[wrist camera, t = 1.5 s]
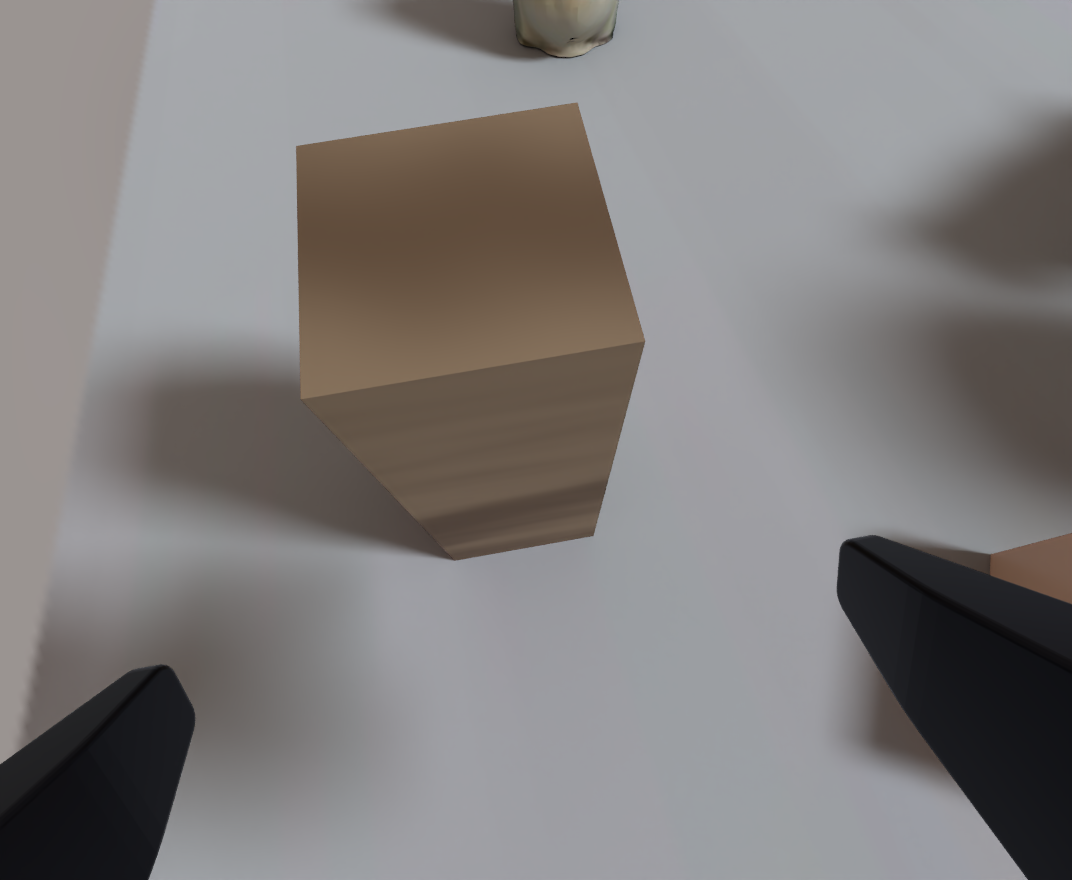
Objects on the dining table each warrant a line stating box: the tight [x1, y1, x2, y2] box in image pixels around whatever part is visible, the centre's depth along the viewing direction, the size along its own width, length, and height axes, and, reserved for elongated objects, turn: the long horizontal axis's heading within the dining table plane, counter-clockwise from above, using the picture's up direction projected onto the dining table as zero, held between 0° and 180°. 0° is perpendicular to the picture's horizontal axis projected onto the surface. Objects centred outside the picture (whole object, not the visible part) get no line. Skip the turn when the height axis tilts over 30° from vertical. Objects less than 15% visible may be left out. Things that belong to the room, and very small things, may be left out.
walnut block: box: [296, 103, 645, 561], centre depth 15 cm, size 5×5×13 cm
